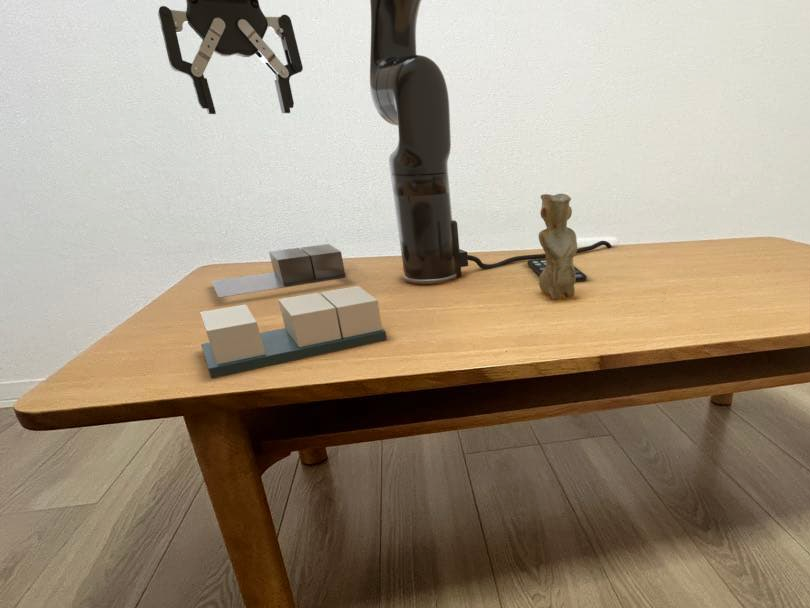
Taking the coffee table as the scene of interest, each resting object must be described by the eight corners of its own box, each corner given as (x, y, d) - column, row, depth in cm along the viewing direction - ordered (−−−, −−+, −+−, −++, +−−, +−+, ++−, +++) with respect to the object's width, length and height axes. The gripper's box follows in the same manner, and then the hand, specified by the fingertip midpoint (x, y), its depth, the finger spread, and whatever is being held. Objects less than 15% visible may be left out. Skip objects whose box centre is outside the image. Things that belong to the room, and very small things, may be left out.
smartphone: (546, 280, 90) (525, 260, 103) (546, 284, 91) (526, 263, 103) (588, 276, 92) (562, 257, 105) (588, 280, 92) (562, 260, 105)
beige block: (254, 334, 68) (246, 304, 66) (265, 354, 62) (256, 321, 60) (210, 343, 66) (199, 311, 64) (217, 364, 60) (206, 330, 58)
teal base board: (365, 321, 76) (358, 284, 73) (387, 339, 69) (380, 300, 67) (204, 353, 66) (190, 312, 64) (211, 378, 59) (196, 334, 57)
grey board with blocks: (331, 270, 102) (325, 242, 100) (350, 284, 93) (344, 253, 91) (212, 287, 92) (203, 257, 90) (220, 305, 84) (210, 271, 81)
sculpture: (567, 287, 89) (568, 190, 82) (582, 299, 83) (585, 196, 76) (534, 290, 88) (532, 192, 81) (546, 303, 82) (545, 198, 74)
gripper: (133, -71, 54) (187, 114, 61) (285, -52, 60) (316, 112, 68) (133, -53, 59) (183, 115, 67) (272, -37, 66) (302, 113, 74)
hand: (250, 113), depth 67 cm, fingers open, 8 cm apart
